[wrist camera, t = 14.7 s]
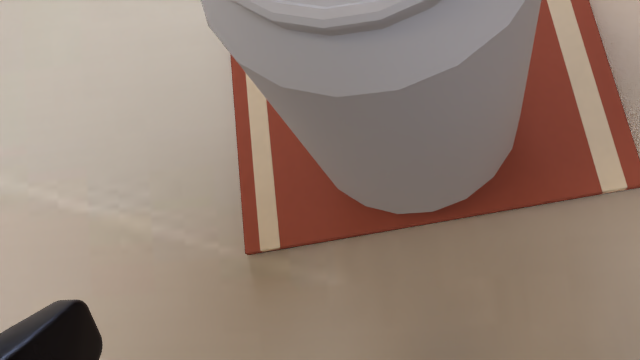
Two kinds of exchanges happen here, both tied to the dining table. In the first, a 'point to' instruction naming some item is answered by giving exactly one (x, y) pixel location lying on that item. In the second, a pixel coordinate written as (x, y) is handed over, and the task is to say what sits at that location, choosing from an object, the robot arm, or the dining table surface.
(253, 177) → the red table runner
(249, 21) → the can
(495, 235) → the dining table surface
